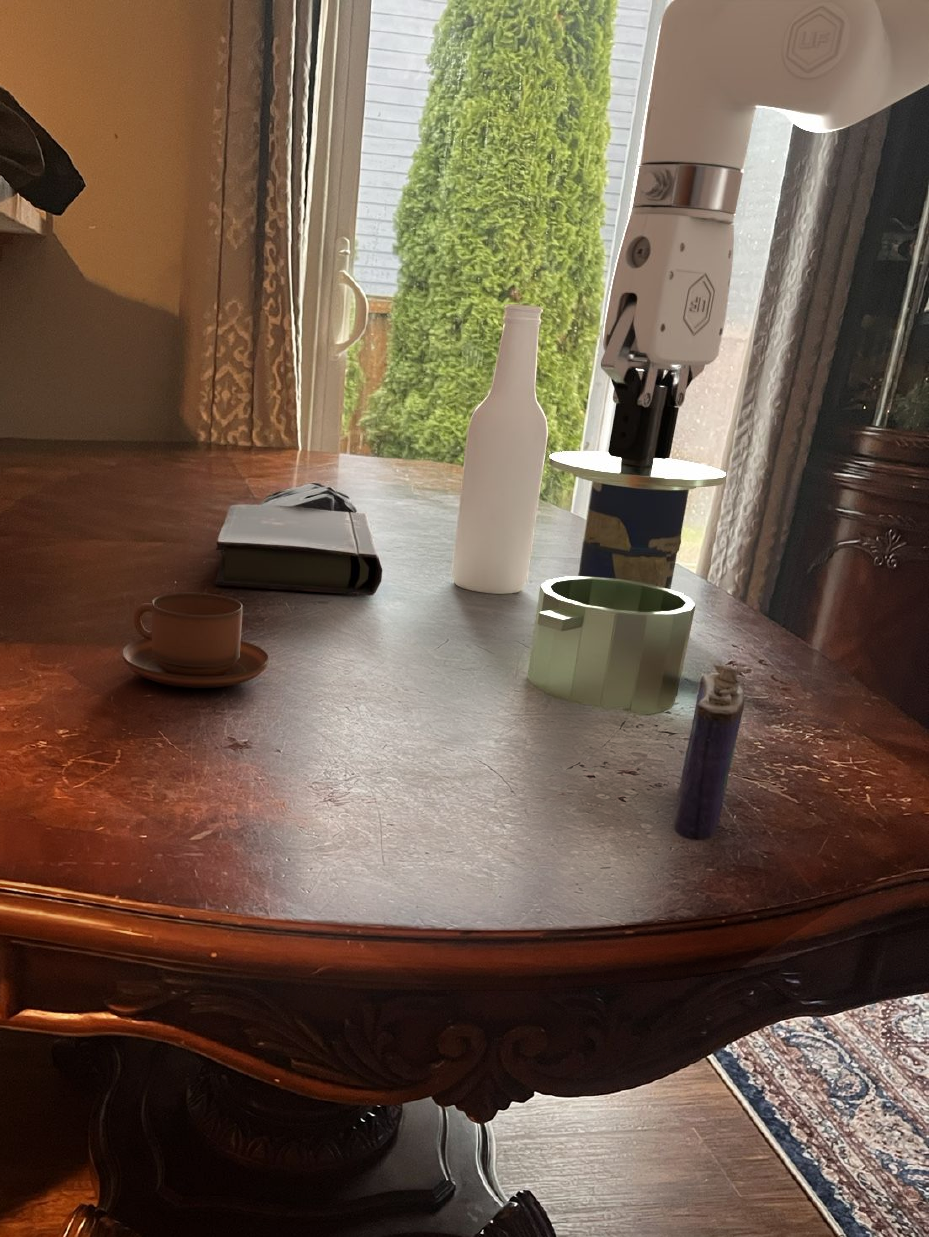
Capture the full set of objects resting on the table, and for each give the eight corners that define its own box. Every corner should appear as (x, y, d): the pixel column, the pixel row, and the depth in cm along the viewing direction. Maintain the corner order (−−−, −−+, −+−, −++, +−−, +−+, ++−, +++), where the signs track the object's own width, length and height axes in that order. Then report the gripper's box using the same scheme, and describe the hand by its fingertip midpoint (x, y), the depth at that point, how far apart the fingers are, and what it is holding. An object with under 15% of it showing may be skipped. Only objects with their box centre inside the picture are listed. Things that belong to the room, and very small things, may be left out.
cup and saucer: (103, 690, 92) (102, 614, 90) (145, 649, 103) (145, 580, 101) (252, 707, 91) (255, 630, 89) (278, 663, 102) (282, 594, 100)
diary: (368, 551, 149) (371, 511, 147) (380, 598, 126) (384, 552, 124) (222, 541, 148) (223, 500, 146) (207, 587, 125) (208, 540, 123)
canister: (673, 643, 118) (709, 459, 111) (580, 636, 118) (610, 451, 110) (648, 618, 127) (680, 446, 119) (561, 612, 126) (588, 439, 119)
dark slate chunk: (361, 509, 177) (363, 477, 175) (363, 537, 157) (366, 501, 155) (260, 501, 177) (261, 469, 175) (249, 528, 157) (250, 492, 155)
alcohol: (507, 576, 141) (544, 306, 129) (538, 595, 133) (580, 309, 121) (439, 576, 138) (469, 301, 126) (466, 594, 131) (501, 303, 119)
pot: (718, 693, 103) (739, 598, 100) (600, 732, 92) (619, 626, 88) (599, 656, 111) (615, 568, 108) (477, 687, 100) (490, 589, 96)
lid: (755, 489, 94) (776, 394, 91) (661, 499, 85) (681, 395, 82) (610, 463, 103) (625, 376, 100) (512, 470, 94) (525, 374, 91)
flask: (675, 791, 81) (707, 642, 77) (719, 799, 80) (754, 649, 76) (668, 844, 73) (703, 681, 69) (717, 853, 72) (755, 689, 68)
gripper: (669, 185, 78) (620, 469, 85) (784, 210, 88) (732, 461, 96) (577, 185, 83) (538, 454, 90) (696, 208, 93) (653, 447, 101)
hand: (638, 455), depth 93 cm, fingers closed on lid, 2 cm apart
